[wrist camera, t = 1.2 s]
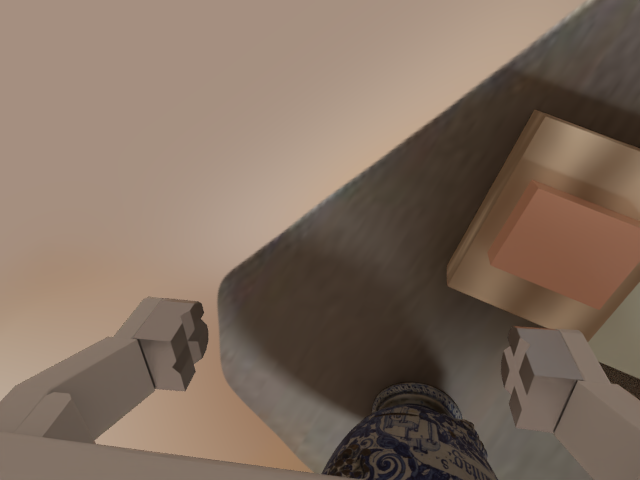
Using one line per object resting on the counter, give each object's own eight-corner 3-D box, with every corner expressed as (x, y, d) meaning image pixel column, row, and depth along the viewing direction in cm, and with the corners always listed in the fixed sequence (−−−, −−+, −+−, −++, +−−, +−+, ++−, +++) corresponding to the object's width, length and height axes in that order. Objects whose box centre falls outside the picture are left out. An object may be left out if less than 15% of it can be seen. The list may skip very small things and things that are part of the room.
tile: (645, 223, 31) (660, 236, 29) (589, 294, 35) (599, 310, 32) (531, 179, 32) (538, 188, 30) (487, 252, 35) (490, 265, 33)
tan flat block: (693, 168, 32) (724, 182, 29) (573, 318, 40) (586, 344, 36) (534, 109, 34) (545, 116, 30) (446, 266, 41) (447, 286, 38)
